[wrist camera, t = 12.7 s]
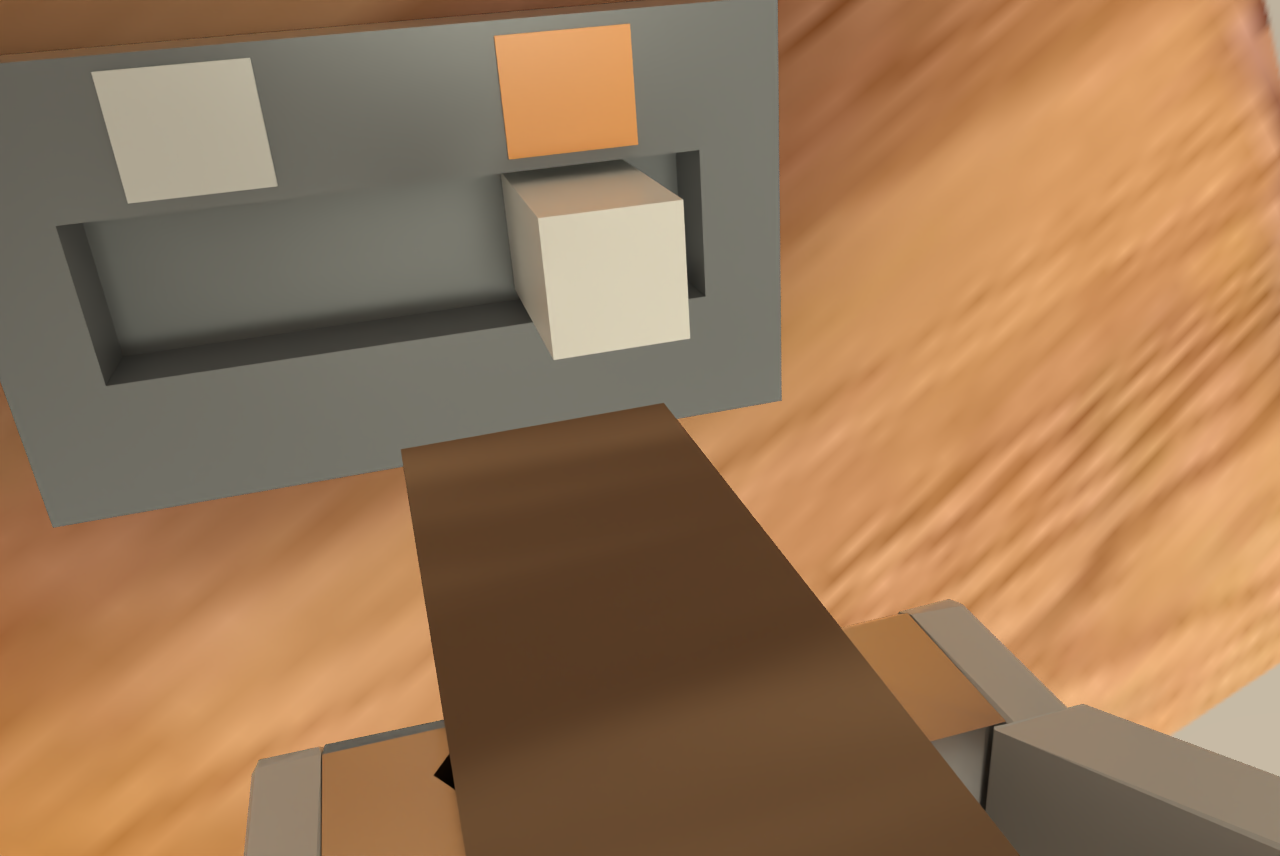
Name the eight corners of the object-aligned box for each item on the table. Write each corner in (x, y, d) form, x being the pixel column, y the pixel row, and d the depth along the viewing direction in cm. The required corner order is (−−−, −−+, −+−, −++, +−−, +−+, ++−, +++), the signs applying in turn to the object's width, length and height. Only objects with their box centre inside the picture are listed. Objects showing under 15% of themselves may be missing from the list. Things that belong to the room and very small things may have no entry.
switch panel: (86, 463, 27) (51, 529, 23) (-49, 58, 22) (-113, 73, 19) (737, 357, 30) (782, 402, 27) (726, -8, 26) (779, -5, 23)
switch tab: (515, 289, 26) (553, 360, 21) (500, 171, 25) (538, 218, 20) (628, 273, 27) (690, 338, 22) (619, 157, 26) (683, 199, 21)
